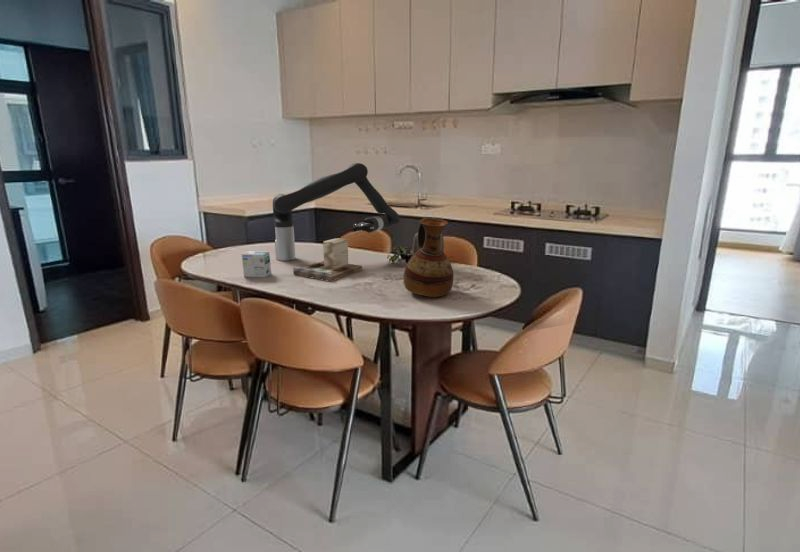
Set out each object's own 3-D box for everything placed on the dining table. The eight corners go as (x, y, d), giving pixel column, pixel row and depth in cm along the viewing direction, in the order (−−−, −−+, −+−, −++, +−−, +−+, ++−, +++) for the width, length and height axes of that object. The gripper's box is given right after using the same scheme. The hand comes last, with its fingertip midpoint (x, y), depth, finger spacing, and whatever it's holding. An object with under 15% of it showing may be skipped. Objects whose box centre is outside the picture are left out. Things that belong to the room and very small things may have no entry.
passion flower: (406, 274, 234) (420, 256, 229) (395, 275, 225) (409, 256, 220) (392, 259, 238) (405, 241, 233) (380, 259, 229) (394, 240, 224)
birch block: (324, 266, 219) (323, 241, 216) (337, 262, 228) (336, 237, 224) (335, 268, 216) (333, 242, 213) (348, 263, 224) (347, 239, 221)
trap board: (293, 274, 214) (293, 267, 213) (326, 263, 232) (326, 257, 231) (330, 281, 202) (330, 273, 201) (362, 269, 221) (361, 262, 220)
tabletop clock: (443, 268, 224) (444, 216, 217) (442, 273, 215) (444, 219, 208) (413, 267, 225) (413, 215, 219) (411, 272, 217) (411, 218, 210)
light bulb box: (271, 273, 215) (269, 250, 212) (266, 277, 209) (264, 254, 206) (249, 273, 216) (247, 250, 213) (243, 277, 210) (241, 253, 207)
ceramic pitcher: (416, 303, 173) (417, 223, 165) (395, 289, 191) (395, 216, 183) (462, 297, 181) (464, 220, 173) (437, 283, 199) (439, 213, 191)
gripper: (362, 216, 245) (341, 221, 231) (383, 218, 239) (363, 222, 224) (363, 230, 247) (342, 235, 233) (383, 232, 241) (364, 238, 226)
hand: (353, 229), depth 229 cm, fingers closed
